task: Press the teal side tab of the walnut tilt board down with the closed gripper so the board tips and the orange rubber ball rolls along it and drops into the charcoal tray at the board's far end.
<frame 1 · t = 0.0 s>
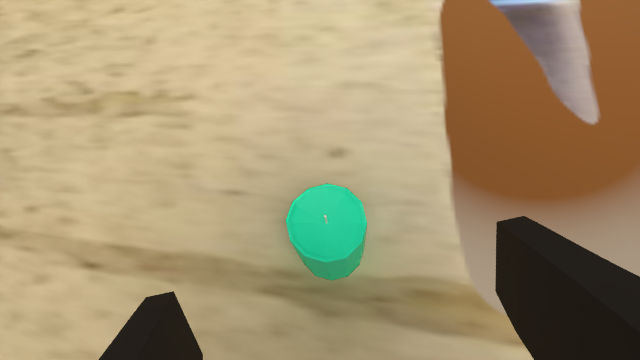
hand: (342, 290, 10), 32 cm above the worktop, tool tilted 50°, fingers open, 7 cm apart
candle: (332, 248, 43), on the worktop
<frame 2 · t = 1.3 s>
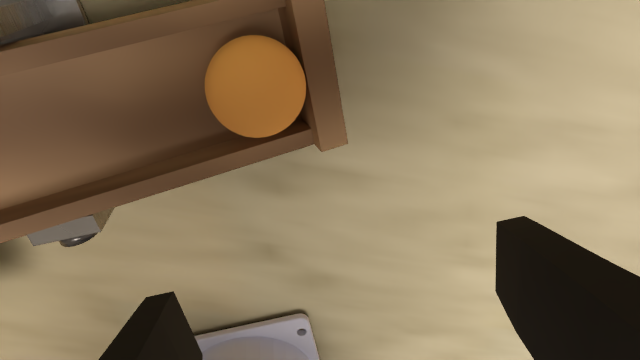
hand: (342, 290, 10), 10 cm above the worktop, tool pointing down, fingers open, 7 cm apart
pivot bracket: (61, 103, 17), on the worktop
ball: (256, 87, 14), point 3 cm above the worktop, tilted 6°, touching tilt board
tilt board: (52, 207, 15), point 4 cm above the worktop, hinge at 13.0°, touching ball
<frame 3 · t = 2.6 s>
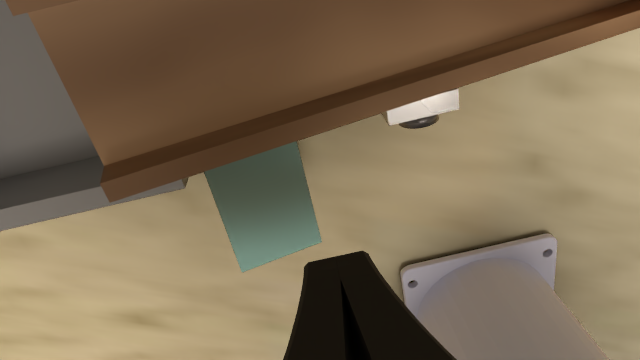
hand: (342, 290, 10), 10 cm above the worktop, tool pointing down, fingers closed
tray: (31, 70, 17), on the worktop
tilt board: (429, 76, 14), point 4 cm above the worktop, hinge at 13.0°, touching ball
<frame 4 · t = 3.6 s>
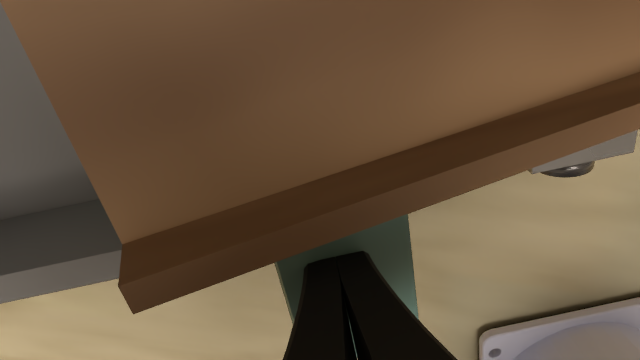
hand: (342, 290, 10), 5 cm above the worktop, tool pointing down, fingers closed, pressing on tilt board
tray: (14, 81, 12), on the worktop
tilt board: (605, 106, 9), point 4 cm above the worktop, hinge at 13.0°, touching gripper
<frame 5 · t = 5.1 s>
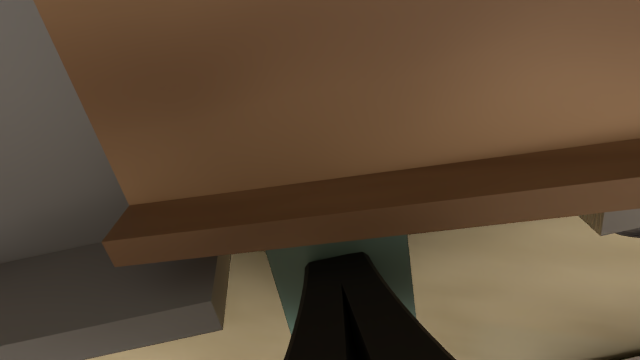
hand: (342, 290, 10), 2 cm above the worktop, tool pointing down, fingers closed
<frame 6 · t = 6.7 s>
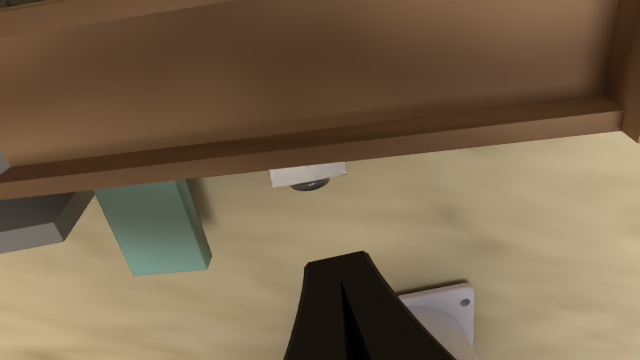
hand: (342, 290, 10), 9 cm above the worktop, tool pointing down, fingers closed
pivot bracket: (283, 41, 16), on the worktop
tilt board: (297, 145, 14), point 4 cm above the worktop, hinge at -9.3°
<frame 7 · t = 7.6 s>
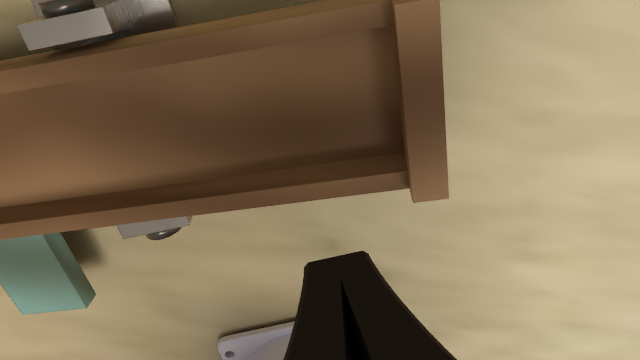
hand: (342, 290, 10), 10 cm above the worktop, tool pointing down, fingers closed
pivot bracket: (142, 99, 17), on the worktop
tilt board: (135, 203, 15), point 4 cm above the worktop, hinge at -9.3°
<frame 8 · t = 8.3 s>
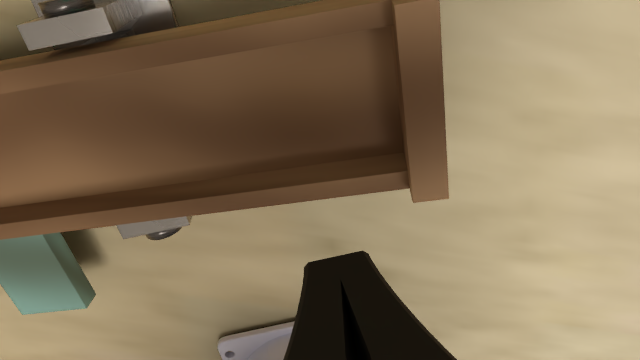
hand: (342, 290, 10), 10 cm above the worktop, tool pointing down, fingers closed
pivot bracket: (142, 99, 17), on the worktop
tilt board: (135, 203, 15), point 4 cm above the worktop, hinge at -9.3°
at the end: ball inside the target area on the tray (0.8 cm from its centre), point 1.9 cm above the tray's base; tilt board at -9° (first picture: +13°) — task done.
